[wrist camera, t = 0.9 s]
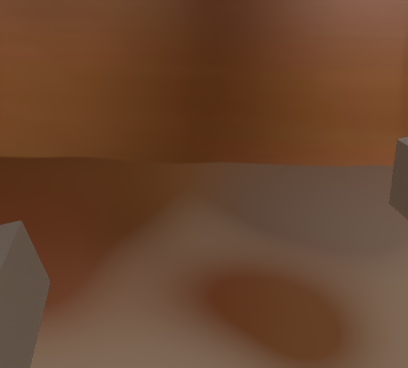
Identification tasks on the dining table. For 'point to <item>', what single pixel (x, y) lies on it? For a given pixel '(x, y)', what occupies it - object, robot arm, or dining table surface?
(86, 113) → the dining table surface
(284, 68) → the dining table surface
